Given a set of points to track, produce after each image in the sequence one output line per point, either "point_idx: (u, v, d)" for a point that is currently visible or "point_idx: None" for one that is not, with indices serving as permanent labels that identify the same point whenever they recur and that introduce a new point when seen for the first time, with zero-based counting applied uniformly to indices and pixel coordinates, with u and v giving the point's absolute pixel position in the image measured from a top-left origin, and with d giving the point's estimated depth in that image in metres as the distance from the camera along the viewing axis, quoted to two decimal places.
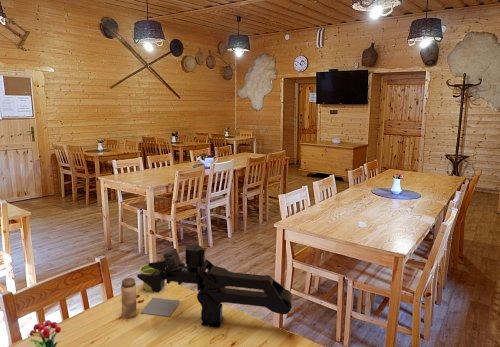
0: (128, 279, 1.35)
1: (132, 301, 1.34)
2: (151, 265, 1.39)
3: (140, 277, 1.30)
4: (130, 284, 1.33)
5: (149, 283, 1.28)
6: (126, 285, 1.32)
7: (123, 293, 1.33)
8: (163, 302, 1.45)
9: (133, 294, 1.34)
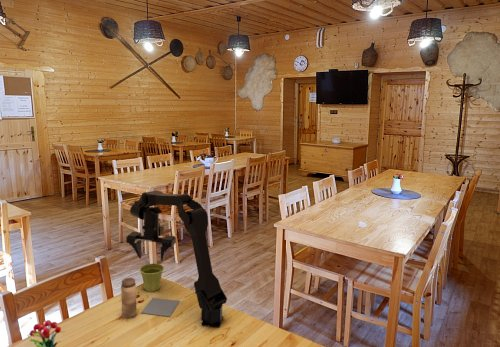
0: (128, 279, 1.35)
1: (132, 301, 1.34)
2: None
3: None
4: (130, 284, 1.33)
5: None
6: (126, 285, 1.32)
7: (123, 293, 1.33)
8: (163, 302, 1.45)
9: (133, 294, 1.34)
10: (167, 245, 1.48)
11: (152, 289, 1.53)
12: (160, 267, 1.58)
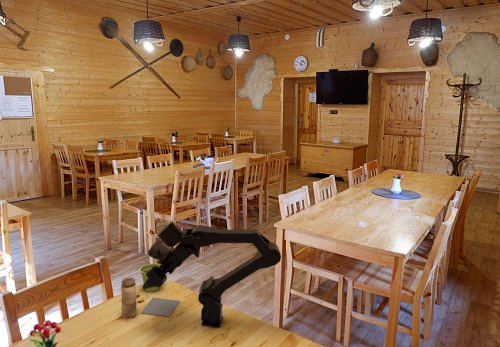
0: (128, 279, 1.35)
1: (132, 301, 1.34)
2: None
3: (145, 286, 1.28)
4: (130, 284, 1.33)
5: (154, 284, 1.26)
6: (126, 285, 1.32)
7: (123, 293, 1.33)
8: (163, 302, 1.45)
9: (133, 294, 1.34)
10: None
11: (152, 289, 1.53)
12: None
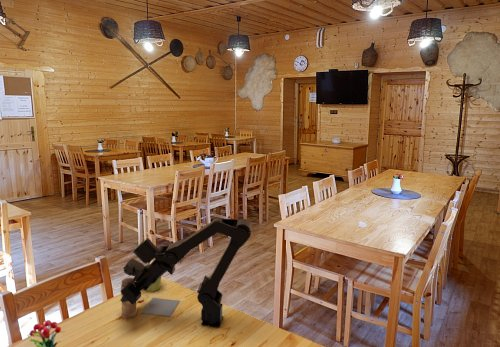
0: (128, 279, 1.35)
1: None
2: None
3: (123, 299, 1.32)
4: None
5: None
6: None
7: None
8: (163, 302, 1.45)
9: None
10: None
11: (152, 289, 1.53)
12: None
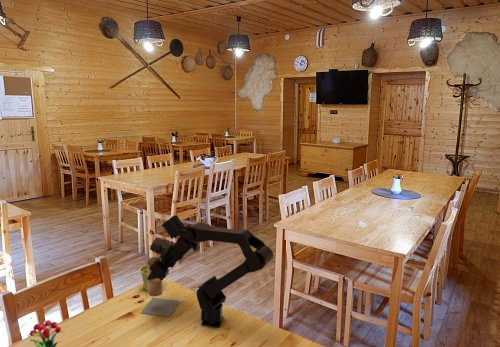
0: (153, 258, 1.38)
1: (158, 279, 1.36)
2: None
3: (150, 277, 1.35)
4: None
5: None
6: (152, 263, 1.35)
7: (149, 271, 1.35)
8: (163, 302, 1.45)
9: None
10: None
11: None
12: None
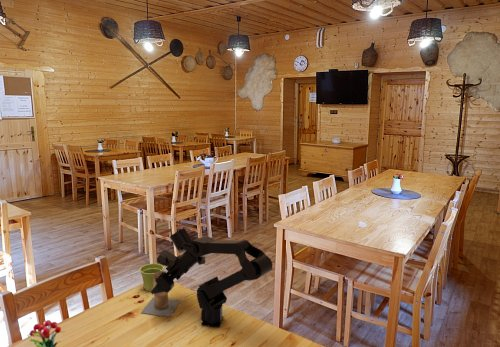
0: (160, 272, 1.41)
1: (164, 293, 1.39)
2: None
3: (154, 291, 1.35)
4: None
5: (162, 289, 1.34)
6: None
7: None
8: None
9: None
10: None
11: (152, 289, 1.53)
12: (160, 267, 1.58)
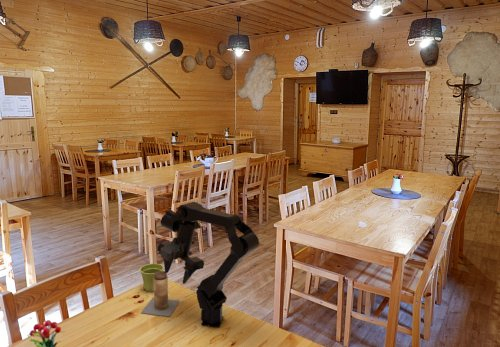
0: (160, 272, 1.41)
1: (164, 293, 1.39)
2: (167, 269, 1.39)
3: (186, 280, 1.34)
4: (162, 277, 1.38)
5: (193, 271, 1.34)
6: (159, 278, 1.38)
7: (156, 285, 1.38)
8: None
9: (165, 286, 1.39)
10: None
11: (152, 289, 1.53)
12: (160, 267, 1.58)
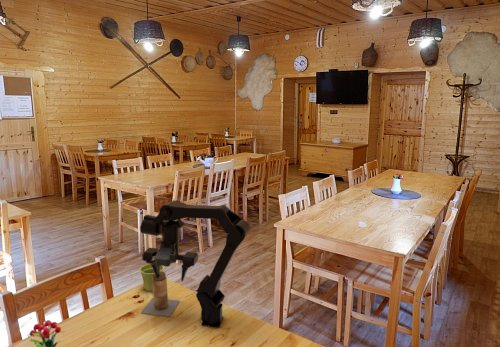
0: None
1: (163, 294, 1.39)
2: (158, 274, 1.37)
3: None
4: (161, 278, 1.37)
5: None
6: (157, 279, 1.37)
7: (155, 286, 1.38)
8: None
9: (164, 287, 1.39)
10: None
11: (152, 289, 1.53)
12: (160, 267, 1.58)
